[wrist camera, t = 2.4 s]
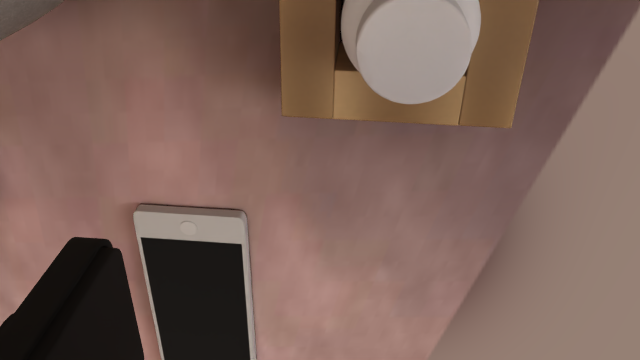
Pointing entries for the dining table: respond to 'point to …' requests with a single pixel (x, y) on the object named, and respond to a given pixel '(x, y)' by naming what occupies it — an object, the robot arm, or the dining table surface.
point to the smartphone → (198, 281)
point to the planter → (22, 13)
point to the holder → (364, 104)
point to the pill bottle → (410, 45)
